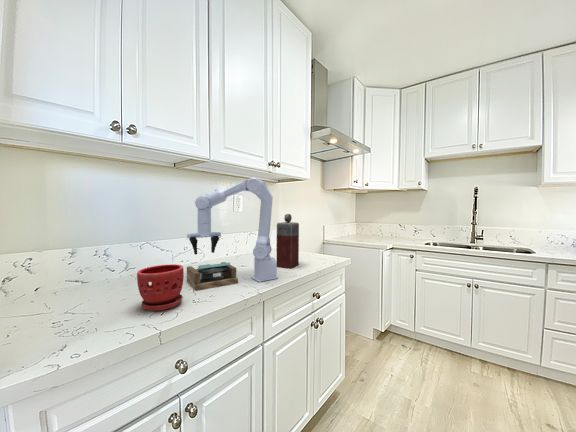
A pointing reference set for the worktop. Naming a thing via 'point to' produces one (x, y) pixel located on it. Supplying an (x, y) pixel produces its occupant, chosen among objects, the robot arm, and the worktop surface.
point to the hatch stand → (229, 276)
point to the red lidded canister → (287, 243)
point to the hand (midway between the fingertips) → (204, 253)
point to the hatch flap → (213, 268)
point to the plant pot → (160, 286)
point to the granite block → (205, 275)
